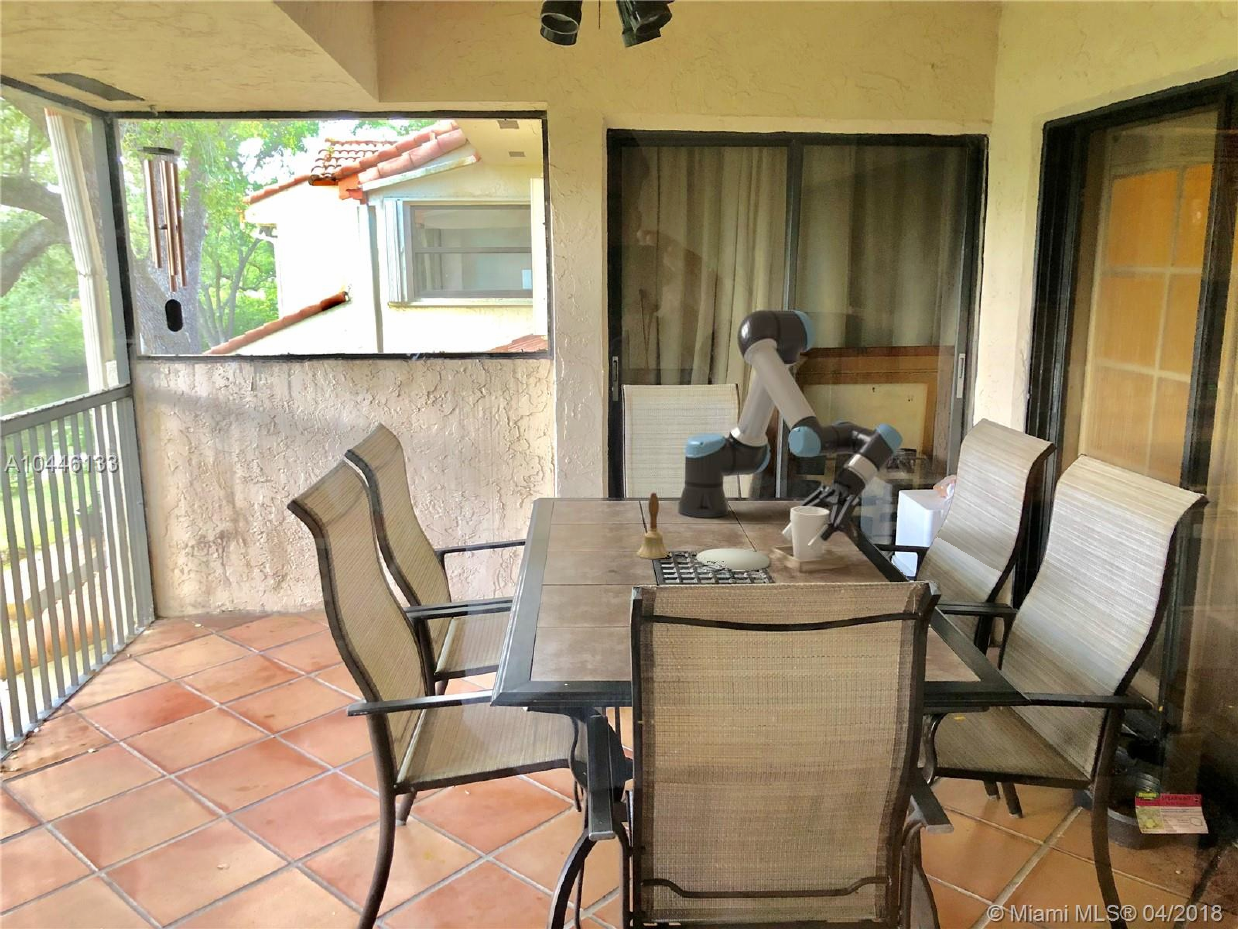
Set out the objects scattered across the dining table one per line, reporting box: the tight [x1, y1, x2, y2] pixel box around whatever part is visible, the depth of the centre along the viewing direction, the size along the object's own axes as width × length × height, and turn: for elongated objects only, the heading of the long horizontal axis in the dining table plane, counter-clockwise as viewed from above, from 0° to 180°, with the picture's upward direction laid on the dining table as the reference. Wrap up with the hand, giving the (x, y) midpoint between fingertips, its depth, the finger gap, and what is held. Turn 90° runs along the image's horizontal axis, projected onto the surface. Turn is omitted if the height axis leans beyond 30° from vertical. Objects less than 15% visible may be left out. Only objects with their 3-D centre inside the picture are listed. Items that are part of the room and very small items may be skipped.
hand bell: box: [636, 492, 670, 561], centre depth 226 cm, size 8×8×16 cm
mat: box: [695, 548, 771, 571], centre depth 224 cm, size 18×18×1 cm
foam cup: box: [789, 506, 830, 561], centre depth 223 cm, size 10×9×13 cm
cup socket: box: [768, 544, 848, 573], centre depth 224 cm, size 14×14×2 cm
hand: (798, 542), depth 222 cm, fingers open, 11 cm apart
